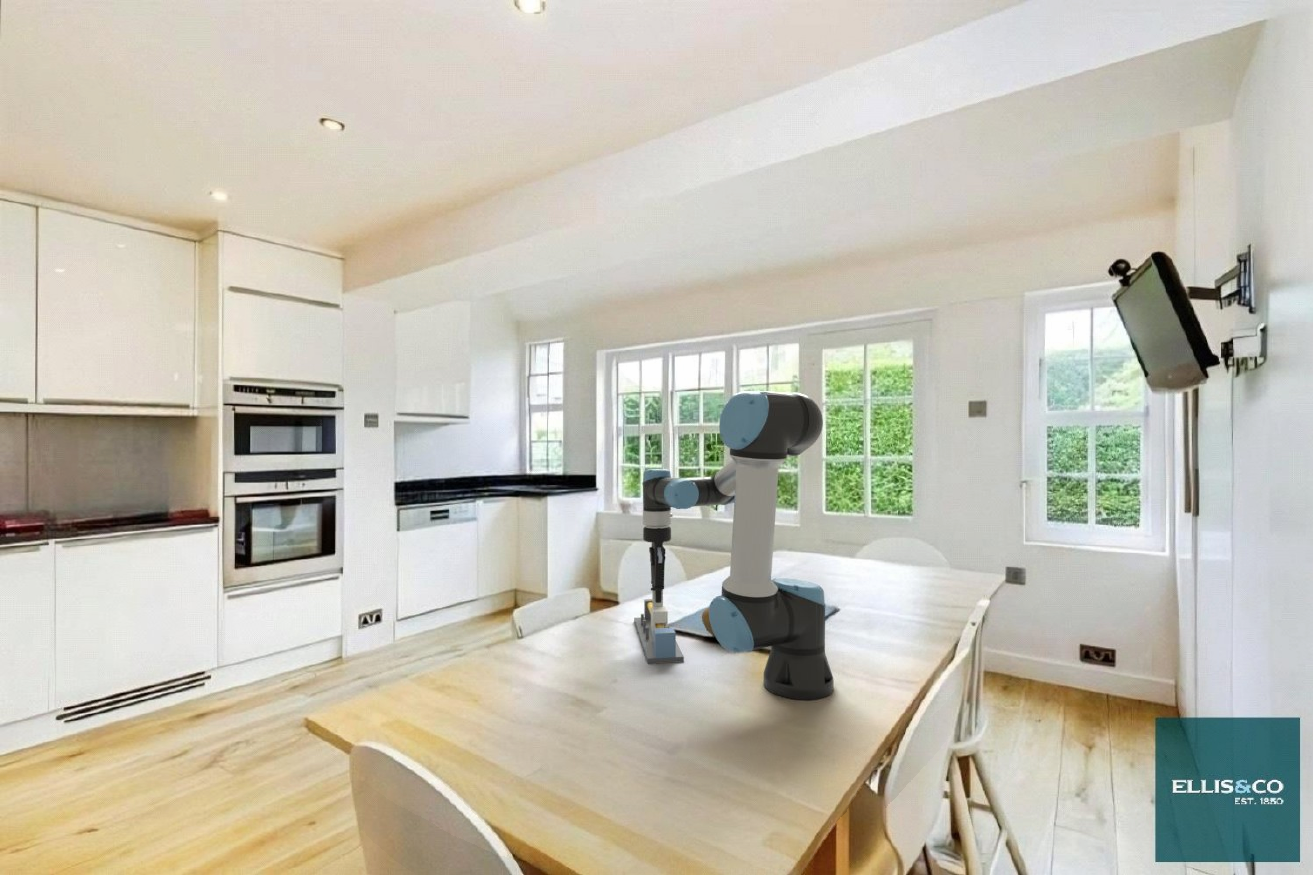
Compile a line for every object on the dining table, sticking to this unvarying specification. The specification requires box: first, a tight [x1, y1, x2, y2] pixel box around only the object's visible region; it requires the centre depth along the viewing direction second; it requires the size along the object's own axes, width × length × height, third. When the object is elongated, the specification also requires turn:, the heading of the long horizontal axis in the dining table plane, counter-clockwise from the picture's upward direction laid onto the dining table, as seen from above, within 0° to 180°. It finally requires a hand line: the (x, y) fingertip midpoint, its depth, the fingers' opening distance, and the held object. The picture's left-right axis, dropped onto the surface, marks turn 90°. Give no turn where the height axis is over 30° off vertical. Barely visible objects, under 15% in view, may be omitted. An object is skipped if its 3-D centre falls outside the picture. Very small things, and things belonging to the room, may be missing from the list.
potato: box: [701, 607, 715, 637], centre depth 165 cm, size 10×14×8 cm
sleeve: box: [651, 605, 669, 634], centre depth 159 cm, size 5×4×6 cm
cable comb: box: [633, 598, 685, 664], centre depth 164 cm, size 34×9×7 cm, turn 8°
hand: (657, 613), depth 162 cm, fingers closed
